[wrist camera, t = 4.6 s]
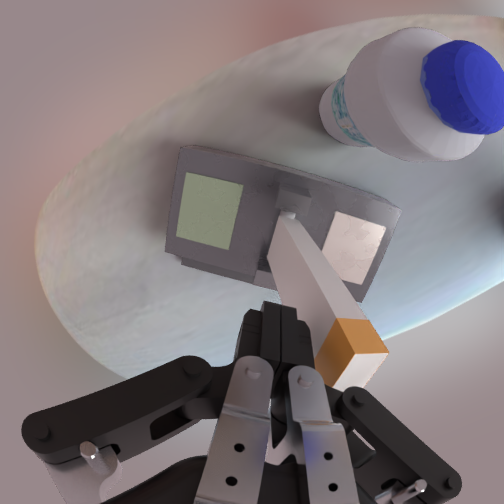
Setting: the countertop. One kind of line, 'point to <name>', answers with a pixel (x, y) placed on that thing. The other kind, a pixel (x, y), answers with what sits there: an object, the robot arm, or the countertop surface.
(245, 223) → the switch box
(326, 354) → the lever
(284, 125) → the countertop surface
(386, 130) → the bottle
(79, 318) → the countertop surface
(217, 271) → the dark grey bar
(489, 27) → the countertop surface
